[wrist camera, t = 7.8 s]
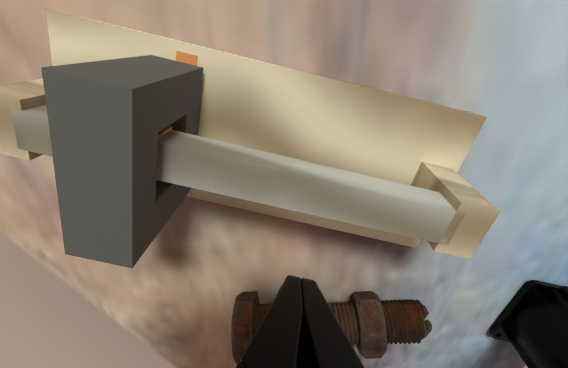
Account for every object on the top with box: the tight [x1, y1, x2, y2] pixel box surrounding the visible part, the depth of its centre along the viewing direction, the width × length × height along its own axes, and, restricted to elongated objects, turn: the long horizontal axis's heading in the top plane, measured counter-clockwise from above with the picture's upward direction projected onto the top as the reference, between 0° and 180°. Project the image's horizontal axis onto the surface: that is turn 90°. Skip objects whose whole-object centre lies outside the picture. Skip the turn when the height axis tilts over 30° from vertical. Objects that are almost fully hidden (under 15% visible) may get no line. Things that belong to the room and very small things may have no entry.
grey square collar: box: [41, 55, 203, 268], centre depth 15 cm, size 8×3×8 cm, turn 167°
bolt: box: [232, 291, 432, 365], centre depth 24 cm, size 6×5×15 cm
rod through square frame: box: [0, 9, 500, 259], centre depth 17 cm, size 10×26×6 cm, turn 77°
